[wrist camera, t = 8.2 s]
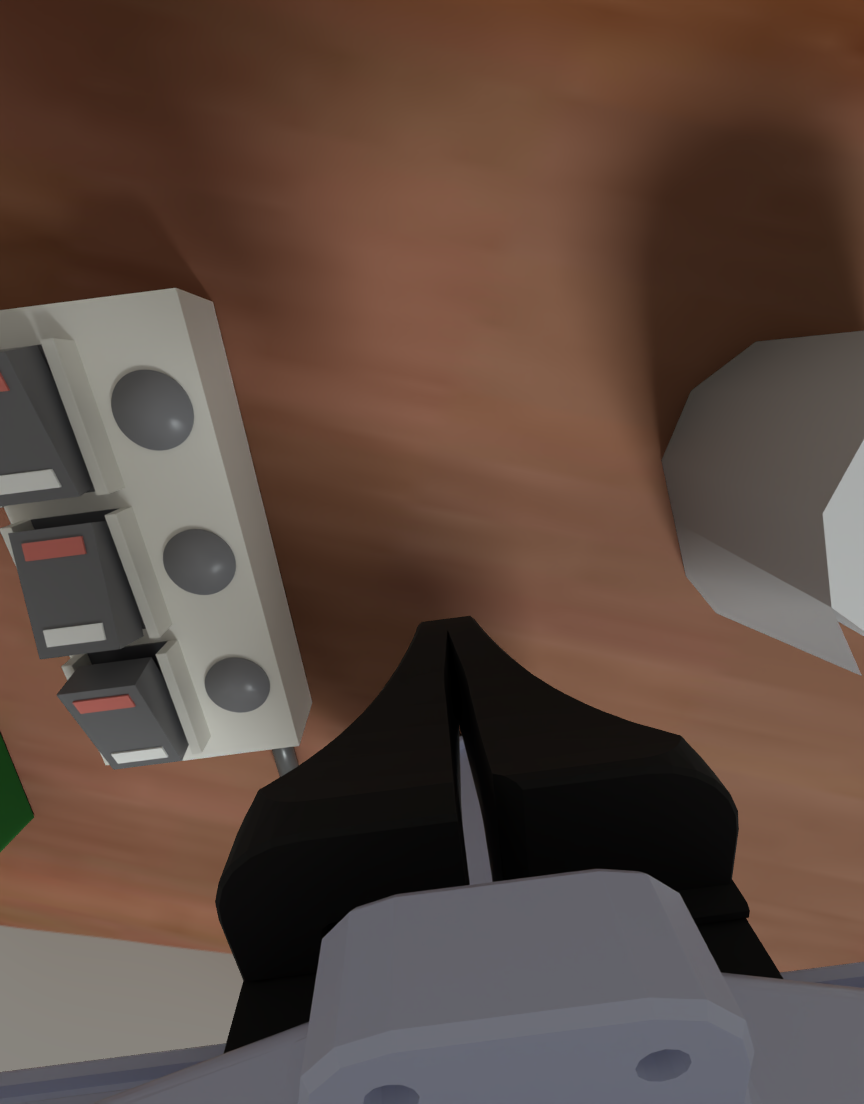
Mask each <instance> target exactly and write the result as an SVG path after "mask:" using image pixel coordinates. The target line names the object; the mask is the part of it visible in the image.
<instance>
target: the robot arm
mask: <svg viewBox="0 0 864 1104" xmlns="http://www.w3.org/2000/svg"><path fill="white" fill-rule="evenodd" d="M459 725H460V729H461V733H462V736H459ZM738 830H739V827H738V810H737V808H736V806H735V803H734V801H733V799H732V797H731V795H730V793H729V792H728V790H727V789H726V788H725V786H724V785H723V784H722V783H721V781H720V780H719V779H718V777H717V776H716V775H715V773H714V772H713V771H712V770H711V769H710V767H709V766H708V765H707V764H706V763H705V761H704V760H703V759H702V758H701V757H700V756H699V755H698V754H697V753H696V751H695V750H694V749H693V748H692V747H691V746H690V745H689V744H688V743H687V742H686V741H685V740H684V738H683V737H682V736H680V735H676V734H673V733H669V732H666V731H662V730H659V729H655V728H651V727H648V726H644V725H641V724H637V723H634V722H631V721H628V720H625V719H622V718H619V717H617V716H614V715H611V714H609V713H606V712H603V711H601V710H599V709H596V708H594V707H591V706H589V705H587V704H585V703H583V702H581V701H578V700H576V699H574V698H572V697H570V696H568V695H566V694H564V693H562V692H561V691H559V690H557V689H555V688H553V687H552V686H550V685H548V684H547V683H545V682H544V681H542V680H540V679H539V678H537V677H536V676H534V675H533V674H531V673H530V672H529V671H527V670H526V669H525V668H523V667H522V666H521V665H520V664H518V663H517V662H516V661H515V660H514V659H512V658H511V657H510V656H509V655H508V654H507V653H506V652H505V651H503V650H502V649H501V648H500V647H499V646H498V645H497V644H496V643H495V642H494V641H493V640H492V639H491V638H490V637H489V636H488V635H487V634H486V633H485V632H484V630H483V629H482V628H481V627H480V626H479V625H478V623H477V622H476V621H475V619H473V618H472V617H471V616H466V617H458V618H450V619H442V620H434V621H426V622H421V623H420V624H419V626H418V627H417V630H416V633H415V635H414V637H413V640H412V642H411V644H410V646H409V648H408V650H407V652H406V653H405V655H404V657H403V659H402V661H401V662H400V664H399V666H398V667H397V669H396V671H395V672H394V674H393V675H392V676H391V678H390V679H389V681H388V682H387V684H386V685H385V687H384V688H383V690H382V691H381V692H380V693H379V695H378V696H377V697H376V698H375V700H374V701H373V702H372V703H371V704H370V706H369V707H368V708H367V709H366V710H365V711H364V712H363V714H361V715H360V716H359V717H358V718H357V719H356V720H355V721H354V722H353V723H352V724H351V725H350V726H349V727H348V728H347V729H346V730H345V731H343V732H342V733H341V734H340V735H339V736H338V737H337V738H335V739H334V740H333V741H332V742H330V743H329V744H328V745H327V746H325V747H324V748H323V749H322V750H320V751H319V752H317V753H316V754H315V755H313V756H312V757H311V758H309V759H308V760H306V761H305V762H304V763H302V764H301V765H299V766H298V767H296V768H294V769H293V770H291V771H290V772H288V773H286V774H285V775H283V776H281V777H280V778H278V779H277V780H275V781H273V782H272V783H270V784H269V785H267V786H265V787H263V788H262V789H260V790H259V791H258V792H257V794H256V797H255V799H254V801H253V803H252V805H251V807H250V808H249V810H248V812H247V814H246V816H245V818H244V820H243V822H242V825H241V827H240V829H239V831H238V833H237V836H236V839H235V841H234V844H233V846H232V849H231V852H230V854H229V857H228V860H227V862H226V865H225V868H224V870H223V873H222V876H221V878H220V881H219V884H218V890H217V895H216V900H215V903H216V908H217V913H218V918H219V921H220V924H221V926H222V929H223V931H224V934H225V936H226V939H227V941H228V944H229V946H230V948H231V951H232V953H233V956H234V958H235V961H236V963H237V966H238V968H239V970H240V973H241V975H242V978H243V980H244V981H243V985H242V988H241V992H240V996H239V999H238V1003H237V1007H236V1010H235V1014H234V1018H233V1021H232V1025H231V1028H230V1032H229V1036H228V1039H227V1043H226V1044H217V1045H209V1046H201V1047H193V1048H185V1049H179V1050H170V1051H162V1052H155V1053H147V1054H140V1055H131V1056H123V1057H115V1058H107V1059H99V1060H92V1061H84V1062H76V1063H68V1064H61V1065H53V1066H45V1067H37V1068H29V1069H21V1070H13V1071H5V1072H0V1104H864V962H859V963H851V964H843V965H835V966H827V967H819V968H812V969H804V970H796V971H788V972H779V971H778V969H777V968H776V966H775V964H774V963H773V961H772V960H771V958H770V956H769V955H768V953H767V952H766V950H765V948H764V947H763V945H762V943H761V942H760V940H759V939H758V937H757V935H756V934H755V932H754V931H753V929H752V927H751V926H750V924H749V923H748V921H747V919H746V918H749V912H750V910H749V907H748V904H747V902H746V900H745V899H744V897H743V896H742V894H741V893H740V891H739V889H738V888H737V886H736V885H735V883H734V882H733V880H732V874H733V867H734V859H735V852H736V845H737V837H738Z"/></svg>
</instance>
